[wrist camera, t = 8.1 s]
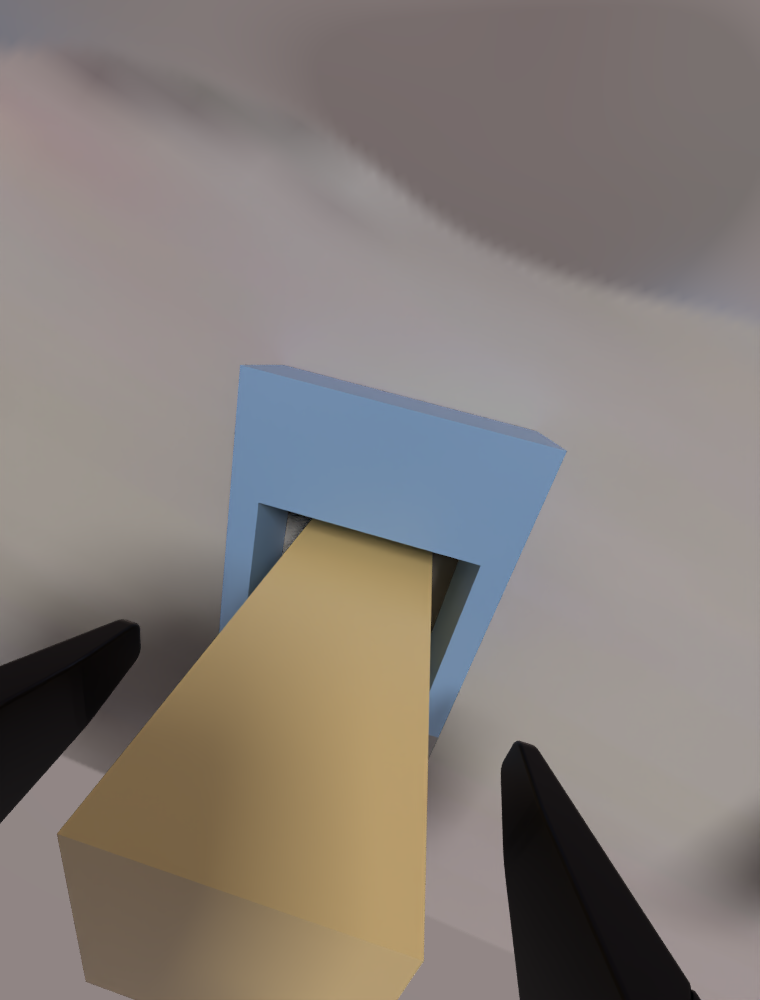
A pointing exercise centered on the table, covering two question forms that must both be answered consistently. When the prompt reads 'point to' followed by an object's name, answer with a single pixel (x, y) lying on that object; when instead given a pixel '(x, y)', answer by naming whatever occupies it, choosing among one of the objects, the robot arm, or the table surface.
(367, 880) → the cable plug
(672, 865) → the table surface
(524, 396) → the table surface
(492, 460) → the duct block
